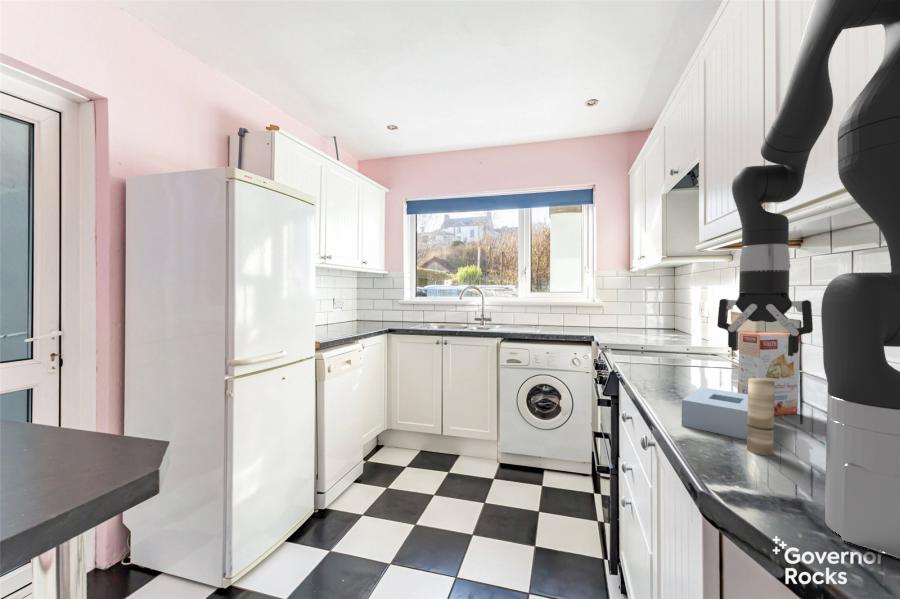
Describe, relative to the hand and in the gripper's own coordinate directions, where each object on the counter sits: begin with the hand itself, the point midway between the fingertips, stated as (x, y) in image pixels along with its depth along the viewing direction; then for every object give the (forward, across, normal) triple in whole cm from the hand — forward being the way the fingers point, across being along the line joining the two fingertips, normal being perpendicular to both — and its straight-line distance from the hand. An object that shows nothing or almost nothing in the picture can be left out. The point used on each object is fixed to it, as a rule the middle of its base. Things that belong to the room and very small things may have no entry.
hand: (761, 352), depth 75 cm
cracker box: (+20, -2, +34) cm, 39 cm away
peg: (+19, 0, 0) cm, 19 cm away
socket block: (+19, -8, +15) cm, 26 cm away
